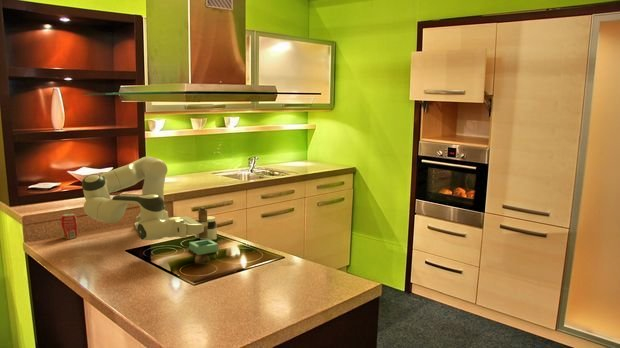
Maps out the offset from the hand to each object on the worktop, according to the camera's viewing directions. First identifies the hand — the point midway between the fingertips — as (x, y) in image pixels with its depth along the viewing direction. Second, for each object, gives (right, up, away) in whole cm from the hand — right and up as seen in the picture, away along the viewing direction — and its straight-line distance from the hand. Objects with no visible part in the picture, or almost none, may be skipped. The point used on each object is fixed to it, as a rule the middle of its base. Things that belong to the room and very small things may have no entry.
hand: (204, 222), depth 228 cm
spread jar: (-4, -11, +19) cm, 22 cm away
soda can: (-73, -10, +21) cm, 77 cm away
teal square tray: (-1, -13, +2) cm, 14 cm away
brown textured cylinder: (-1, -7, +1) cm, 7 cm away
